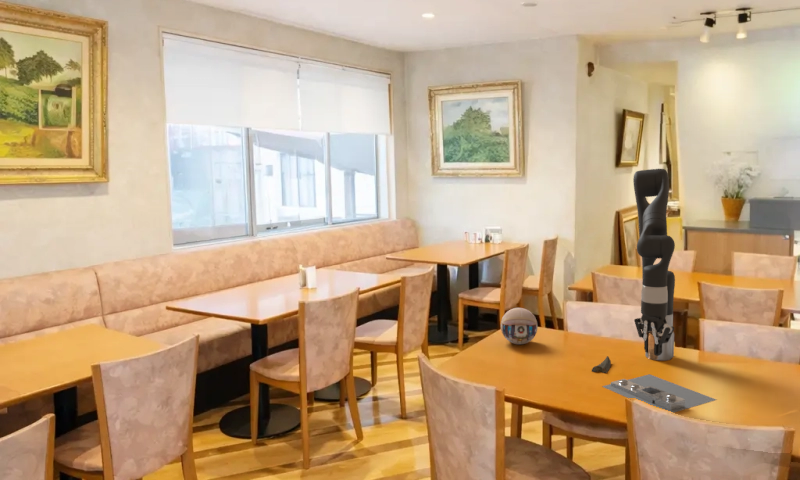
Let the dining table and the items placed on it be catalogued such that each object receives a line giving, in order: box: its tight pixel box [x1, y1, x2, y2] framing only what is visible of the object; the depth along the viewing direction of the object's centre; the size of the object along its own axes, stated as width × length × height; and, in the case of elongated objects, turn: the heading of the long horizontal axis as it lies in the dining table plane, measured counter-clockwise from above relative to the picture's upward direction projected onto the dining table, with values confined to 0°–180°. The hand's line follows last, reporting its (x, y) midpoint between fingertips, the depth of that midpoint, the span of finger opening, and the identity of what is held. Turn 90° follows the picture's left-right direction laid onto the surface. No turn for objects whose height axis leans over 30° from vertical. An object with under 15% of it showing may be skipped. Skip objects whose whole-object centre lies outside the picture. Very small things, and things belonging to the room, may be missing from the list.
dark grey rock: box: [591, 356, 612, 374], centre depth 221 cm, size 13×5×4 cm, turn 139°
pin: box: [647, 332, 658, 361], centre depth 191 cm, size 3×3×8 cm
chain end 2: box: [636, 386, 685, 411], centre depth 190 cm, size 6×13×3 cm, turn 26°
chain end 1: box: [610, 378, 655, 403], centre depth 198 cm, size 6×17×2 cm, turn 26°
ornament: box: [500, 307, 538, 345], centre depth 253 cm, size 15×15×15 cm
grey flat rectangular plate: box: [601, 374, 717, 414], centre depth 197 cm, size 22×26×1 cm
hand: (652, 353), depth 191 cm, fingers closed on pin, 3 cm apart
